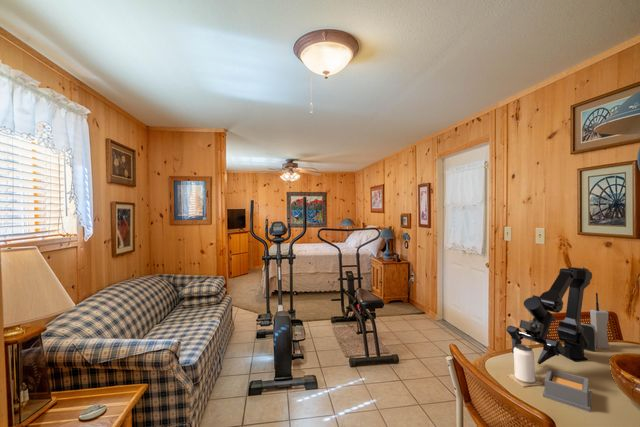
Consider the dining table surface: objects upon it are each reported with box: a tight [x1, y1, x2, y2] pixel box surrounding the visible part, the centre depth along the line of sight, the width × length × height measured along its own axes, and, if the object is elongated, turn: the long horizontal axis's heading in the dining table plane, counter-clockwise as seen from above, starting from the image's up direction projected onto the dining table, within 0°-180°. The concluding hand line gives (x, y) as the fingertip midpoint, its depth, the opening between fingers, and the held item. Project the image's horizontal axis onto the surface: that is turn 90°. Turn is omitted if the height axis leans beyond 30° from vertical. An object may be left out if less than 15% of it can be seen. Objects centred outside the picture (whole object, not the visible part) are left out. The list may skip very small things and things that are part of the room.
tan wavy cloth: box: [506, 372, 544, 388], centre depth 109 cm, size 8×8×1 cm
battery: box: [580, 322, 597, 352], centre depth 132 cm, size 7×4×11 cm, turn 38°
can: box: [513, 343, 536, 383], centre depth 110 cm, size 6×6×12 cm
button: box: [552, 376, 583, 390], centre depth 99 cm, size 8×8×2 cm
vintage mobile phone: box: [589, 292, 611, 349], centre depth 133 cm, size 4×5×25 cm
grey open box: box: [542, 367, 592, 412], centre depth 99 cm, size 12×12×6 cm
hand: (525, 358), depth 110 cm, fingers open, 9 cm apart
